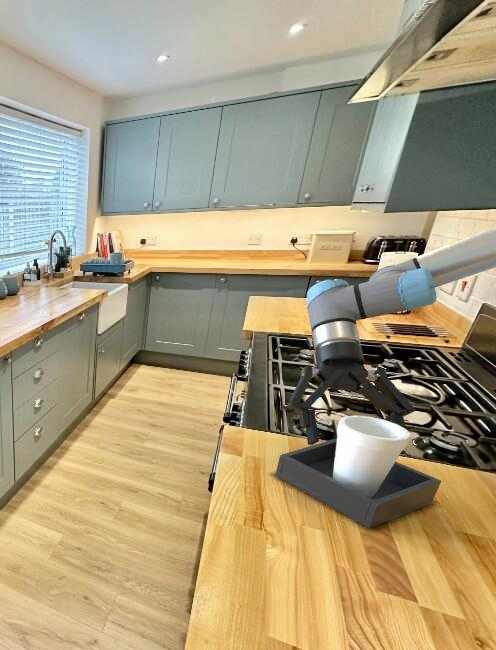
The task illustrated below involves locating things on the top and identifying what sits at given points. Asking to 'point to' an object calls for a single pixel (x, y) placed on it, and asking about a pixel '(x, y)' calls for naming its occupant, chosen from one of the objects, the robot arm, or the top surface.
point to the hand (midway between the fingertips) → (354, 446)
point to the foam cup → (367, 451)
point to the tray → (388, 503)
